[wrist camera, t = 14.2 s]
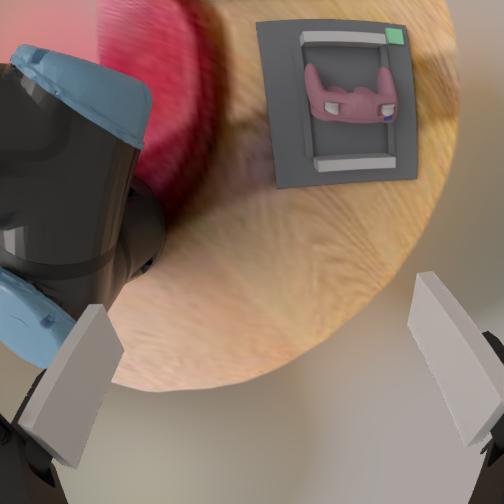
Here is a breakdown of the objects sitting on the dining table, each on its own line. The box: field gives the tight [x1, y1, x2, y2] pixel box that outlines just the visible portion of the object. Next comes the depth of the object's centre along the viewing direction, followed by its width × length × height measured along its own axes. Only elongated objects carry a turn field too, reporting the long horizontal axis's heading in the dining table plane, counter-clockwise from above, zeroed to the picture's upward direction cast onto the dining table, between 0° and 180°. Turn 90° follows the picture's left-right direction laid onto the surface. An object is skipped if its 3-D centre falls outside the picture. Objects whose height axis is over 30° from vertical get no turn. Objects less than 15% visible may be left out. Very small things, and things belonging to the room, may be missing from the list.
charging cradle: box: [256, 19, 417, 189], centre depth 30 cm, size 18×20×4 cm
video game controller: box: [304, 63, 398, 123], centre depth 27 cm, size 10×5×7 cm
